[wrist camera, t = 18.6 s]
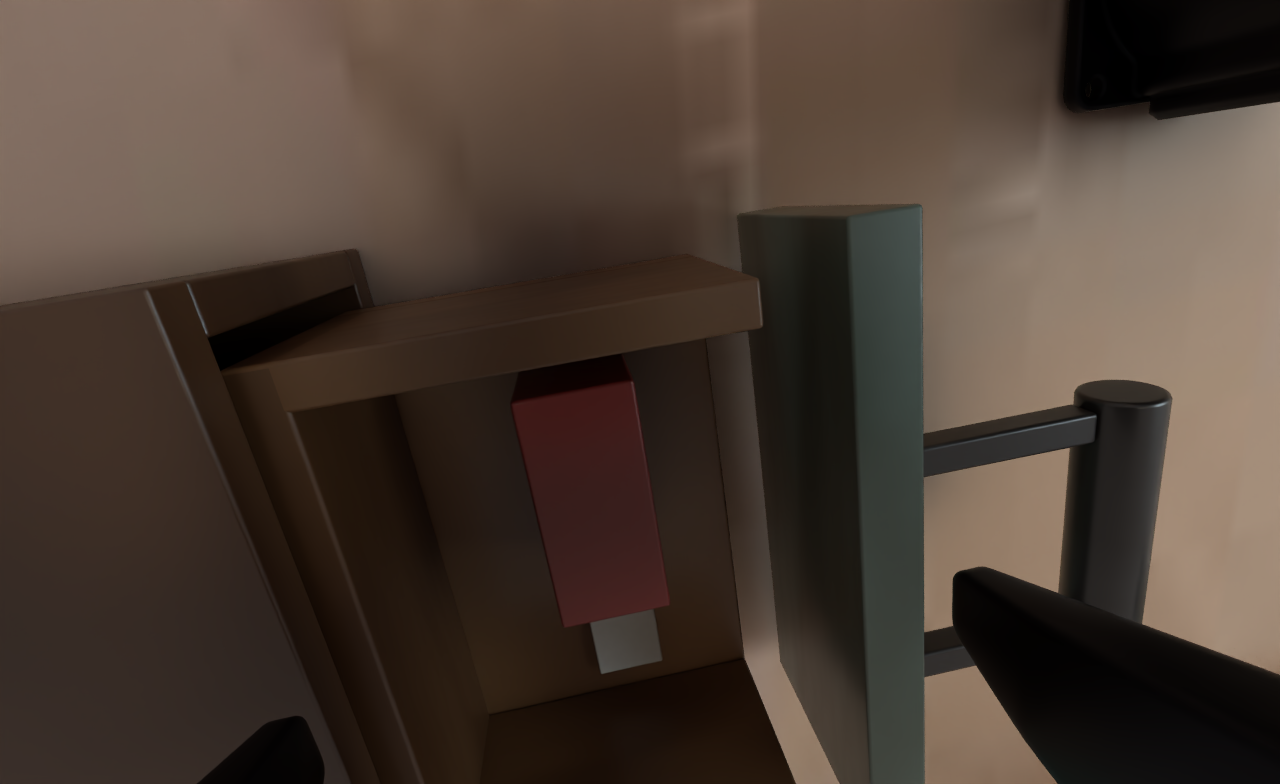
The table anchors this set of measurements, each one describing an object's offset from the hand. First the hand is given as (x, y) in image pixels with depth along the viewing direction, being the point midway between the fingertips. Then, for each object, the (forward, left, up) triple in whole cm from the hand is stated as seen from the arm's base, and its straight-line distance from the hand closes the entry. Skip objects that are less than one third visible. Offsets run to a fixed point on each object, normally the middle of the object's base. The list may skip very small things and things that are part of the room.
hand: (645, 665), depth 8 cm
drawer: (+1, +3, -8) cm, 8 cm away
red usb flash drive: (+1, 0, -7) cm, 7 cm away
